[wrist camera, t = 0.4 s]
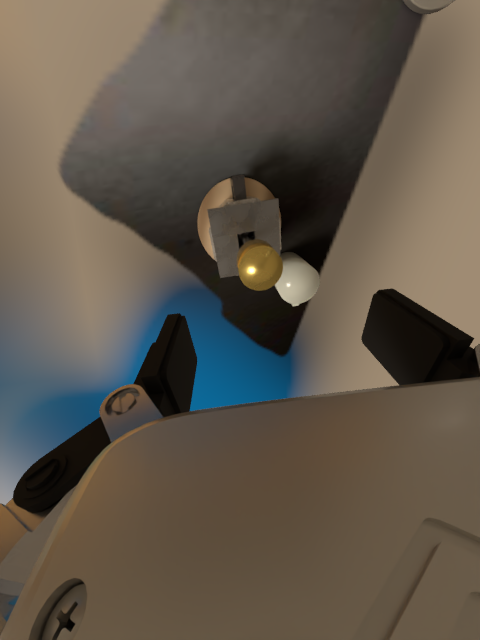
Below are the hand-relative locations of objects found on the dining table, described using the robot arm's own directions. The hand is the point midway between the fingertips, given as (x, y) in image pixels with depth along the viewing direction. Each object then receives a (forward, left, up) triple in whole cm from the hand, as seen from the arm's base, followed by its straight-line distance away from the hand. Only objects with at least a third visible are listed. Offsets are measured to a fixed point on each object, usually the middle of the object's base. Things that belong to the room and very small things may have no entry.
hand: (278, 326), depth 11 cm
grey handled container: (-1, -1, -35) cm, 35 cm away
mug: (-10, +10, -35) cm, 38 cm away
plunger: (-1, 0, -27) cm, 27 cm away
